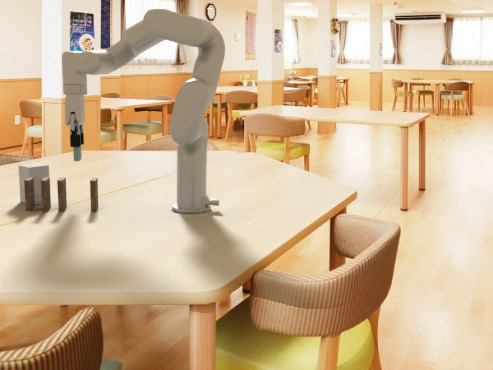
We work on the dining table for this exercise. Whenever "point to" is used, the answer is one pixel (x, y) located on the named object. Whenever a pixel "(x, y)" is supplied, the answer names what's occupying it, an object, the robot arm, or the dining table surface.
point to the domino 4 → (77, 150)
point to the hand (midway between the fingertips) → (77, 145)
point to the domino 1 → (29, 193)
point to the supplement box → (38, 173)
